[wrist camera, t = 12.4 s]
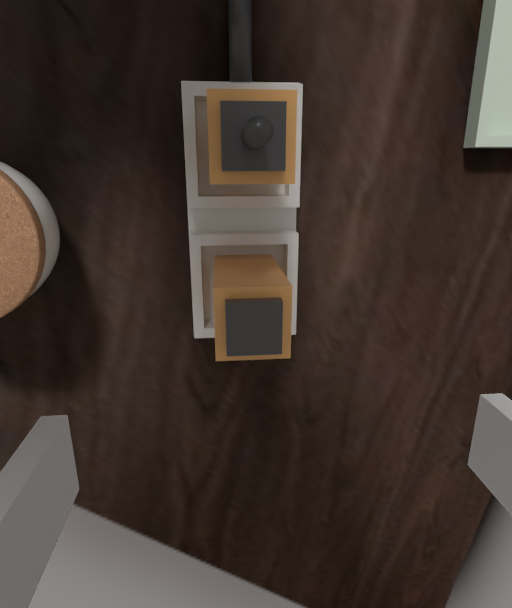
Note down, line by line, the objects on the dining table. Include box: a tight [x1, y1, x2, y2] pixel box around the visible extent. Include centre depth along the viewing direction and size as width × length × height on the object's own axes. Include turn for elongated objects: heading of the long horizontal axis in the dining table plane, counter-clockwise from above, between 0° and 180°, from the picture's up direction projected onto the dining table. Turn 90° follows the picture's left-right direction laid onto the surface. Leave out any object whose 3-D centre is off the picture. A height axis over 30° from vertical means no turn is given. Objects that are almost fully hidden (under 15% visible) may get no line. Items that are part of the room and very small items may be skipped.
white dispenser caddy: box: [181, 0, 303, 338], centre depth 25 cm, size 25×8×15 cm, turn 0°
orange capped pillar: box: [213, 254, 292, 361], centre depth 28 cm, size 4×4×11 cm
